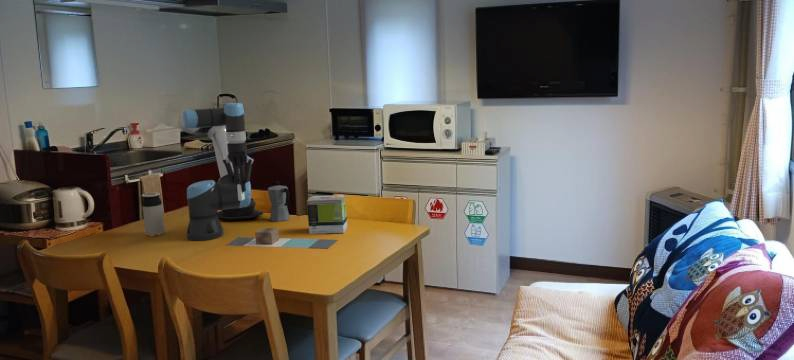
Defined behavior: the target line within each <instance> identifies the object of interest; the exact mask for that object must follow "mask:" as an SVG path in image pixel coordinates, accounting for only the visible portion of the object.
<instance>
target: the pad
mask: <svg viewBox="0 0 794 360" xmlns="http://www.w3.org/2000/svg"><path fill="white" fill-rule="evenodd" d="M319 239H320V238H315V239H314V238H290V240H289V241H288V242H286V243H285V244H283V245H282V246H280V247H279V248H301V249H302V248H303V249H304V248H305V249H307V248H308V249H310V248H309V247H310V246H311V245H313V244H314V243H315V242H316V241H318V240H319Z"/></svg>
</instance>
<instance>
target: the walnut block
mask: <svg viewBox="0 0 794 360" xmlns="http://www.w3.org/2000/svg"><path fill="white" fill-rule="evenodd" d="M254 232H255V233H254V236H255V237H254V238H256V244H265V245H272V244H274V243H275V242H277V241H278V240H279V238H280V233H279V232H280V231H279V227H261V228H260V229H258V230H256V231H254Z"/></svg>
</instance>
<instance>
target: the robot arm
mask: <svg viewBox="0 0 794 360" xmlns="http://www.w3.org/2000/svg"><path fill="white" fill-rule="evenodd" d="M245 123H246V122H245V110H244V104H243V103H242V102H230V103H229V102H227V103H224V105H223V107H222V106H221V107H220V106H219V107H211V108H210V107H209V108H197V109H196V108H194V109H193V108H191V109H184V111H182V113H181V115H180V116H179V118H178V125H179V128H180V129H181V130H182V131H183V132H185V133H187V134H190V135H207V137H208V139H210V140H212V144H213V150H214V152H215V153H214V154H215V159H216V164H217V168H218V171H219V176H220V177H219V179H218V181H217V182H216V181H215V180H213V179H209V180H207V179H206V180H201V181H198V182H194V183H192V184H190V185H188V187H187V188H186V199H187V207H188V218H189V221H188V225H187V226H188V227H187V230H186V239H187V238H188V240H190V241H208V240H213V239H217V238H221V237H223V236H224V228H223V225H222V223H221V221H220V219H219V218H220V217H218V213H217V212H219V211H222V210H225V209H234V208H241V207H247V206H249V204H250V201H251V198H252V185H251V182H250V181H251V174H252V168H253V166H252V165H253V163H254V161H255V159H254V158H251V157H250V156H249V154H248V147H247V142H246V140H247V137H246V136H247V134H246V124H245Z"/></svg>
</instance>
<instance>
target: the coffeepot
mask: <svg viewBox="0 0 794 360" xmlns="http://www.w3.org/2000/svg"><path fill="white" fill-rule="evenodd" d="M267 192H268V196H269V201H270V203H271V207H270V217H269V220H270V221H271V222H272V223H273V222H274V223H281V222H286V221H290V220H291V218H290V214H289V210H288V205H289V199H290V191H289V187H287V186H286V185H280V181H275V185H273V186H269V187H268V188H267Z"/></svg>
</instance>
